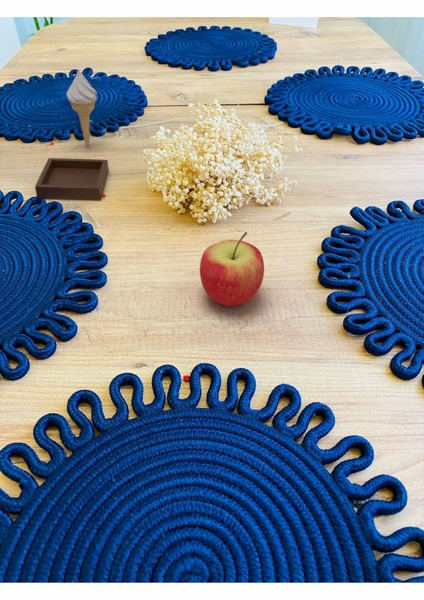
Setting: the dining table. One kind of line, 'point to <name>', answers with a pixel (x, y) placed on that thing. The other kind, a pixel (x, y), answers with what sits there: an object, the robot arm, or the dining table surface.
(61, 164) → the tray
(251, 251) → the apple
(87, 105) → the ice cream cone
